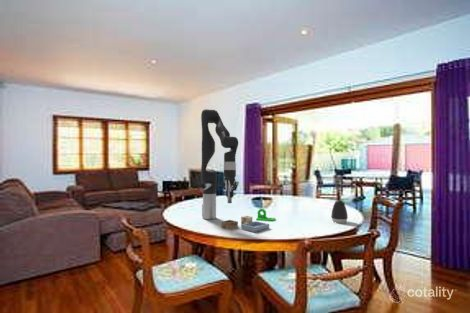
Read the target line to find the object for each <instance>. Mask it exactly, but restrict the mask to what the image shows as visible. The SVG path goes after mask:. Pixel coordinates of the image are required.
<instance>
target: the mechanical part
mask: <svg viewBox="0 0 470 313" xmlns="http://www.w3.org/2000/svg"><path fill="white" fill-rule="evenodd" d="M261 212H262V213H263V214H262V213H261ZM275 220H276V217H268V216H267V211H266V209H264V208H260V209H258V211H257V217H256V221H261V222H262V221H264V222H274V221H275Z"/></svg>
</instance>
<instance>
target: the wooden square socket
mask: <svg viewBox="0 0 470 313" xmlns="http://www.w3.org/2000/svg"><path fill="white" fill-rule="evenodd" d="M221 228H222V229H226V230H229V231H230V230H234V229H238V228H239V222H238V221H236V220H233V219H227V220H223V221H221Z"/></svg>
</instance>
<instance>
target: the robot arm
mask: <svg viewBox="0 0 470 313" xmlns="http://www.w3.org/2000/svg"><path fill="white" fill-rule="evenodd" d="M200 119H201V166H200V168H201V169H200V183H201V184H203V185H205V184H206V185H208V184H209V186H208V187H206V188H203V190H202V203H201V218H202V219H205V220H214V219H217V171H216V170H213V169H212V170H210V169H209V170H208V169H207V168H208V165H209V162H210V161H211V159H212V158H213V156H214V154H216V153H215V152H216V142H215V139H214V138H213V135H212V133H211V132H210V129H209V124H215V128H214V129H215V130H214V131H215V133H216V135H217V136H218V138H219V140H220V144H221V147H223V148H224V149H229V151H226V152H224V154H223V177H224V179H223V180H220V183H221V185H222V188H223V190H225V198H228V184H229V188H230V198H232V199H233V198H234V192H235V191H237V189H238V185H239V183H240V182H239V181H237V180H236V176H237V166H236V165H237V164H236V154H237V150H238V146H239V140H238V137H236V136H231V134H230V131H229V130H228V129H227V127H226V126H225V125H224V122H223V121H222V118H221V116H220V113H219V112H218V111H217V110H215V109H205V108H204V109H202V110H201V115H200Z"/></svg>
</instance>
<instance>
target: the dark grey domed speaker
mask: <svg viewBox="0 0 470 313" xmlns="http://www.w3.org/2000/svg"><path fill="white" fill-rule="evenodd" d="M345 204H346V203H345V202H344V201H343V200H340V199H337V200H336V201H335V202H334V204H333V206H332V209H331V216H330V217H331V220H332V221H333V223H335V222H336V224H345V223H346V222H347V220H348V219H349V218H348V216H349V214H348V211H347V207H346V205H345Z"/></svg>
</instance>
